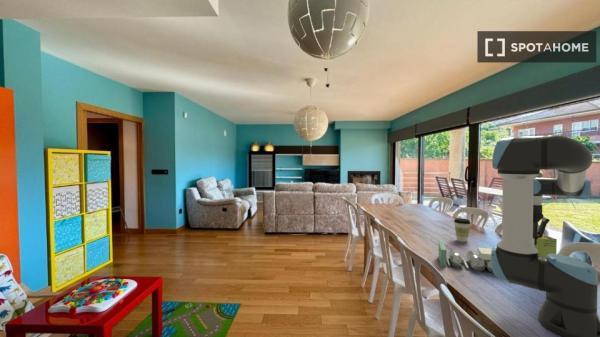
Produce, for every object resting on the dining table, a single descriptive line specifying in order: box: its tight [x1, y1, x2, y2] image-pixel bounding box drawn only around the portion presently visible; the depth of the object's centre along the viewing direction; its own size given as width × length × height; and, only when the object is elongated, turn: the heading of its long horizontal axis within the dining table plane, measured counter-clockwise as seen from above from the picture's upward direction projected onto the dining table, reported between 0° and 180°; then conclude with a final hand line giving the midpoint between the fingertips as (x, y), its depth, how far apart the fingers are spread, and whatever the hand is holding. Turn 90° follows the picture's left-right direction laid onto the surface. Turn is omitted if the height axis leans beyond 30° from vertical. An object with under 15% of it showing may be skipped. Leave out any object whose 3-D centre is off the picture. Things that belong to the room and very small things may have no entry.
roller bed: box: [465, 250, 495, 275], centre depth 131 cm, size 14×21×6 cm, turn 66°
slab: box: [476, 246, 492, 260], centre depth 129 cm, size 10×16×3 cm, turn 66°
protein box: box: [534, 233, 558, 257], centre depth 137 cm, size 10×15×16 cm
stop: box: [438, 241, 447, 268], centre depth 140 cm, size 14×2×9 cm, turn 156°
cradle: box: [446, 255, 470, 271], centre depth 137 cm, size 14×9×2 cm, turn 156°
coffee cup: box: [453, 217, 472, 243], centre depth 177 cm, size 10×10×15 cm
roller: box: [447, 249, 465, 269], centre depth 138 cm, size 12×6×6 cm, turn 155°
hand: (530, 250), depth 124 cm, fingers closed
